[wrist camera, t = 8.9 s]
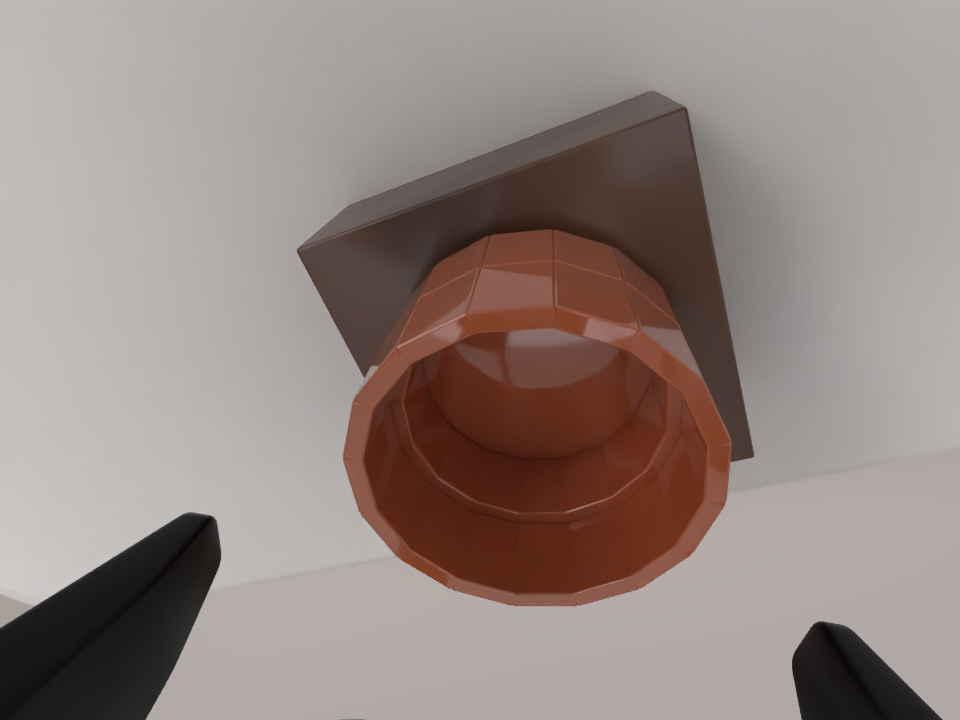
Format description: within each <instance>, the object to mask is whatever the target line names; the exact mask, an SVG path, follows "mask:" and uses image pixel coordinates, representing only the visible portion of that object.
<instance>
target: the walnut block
mask: <svg viewBox="0 0 960 720" xmlns="http://www.w3.org/2000/svg"><path fill="white" fill-rule="evenodd" d="M545 229H552V230H553V231H554V230H559V231H562V232H566V233H569V234H572V235H576V236H579V237H583V238H586V239H589V240H593V241H596V242H600V243H603V244H606V245H610V246H612V247H613V248H617V249H618V250H619V251H621V252H622V253H623V254H624V255H625V256H627V257H628V258H629V259H630V260H631V261H633V262H634V263H635V264H636V265H637V266H639V267H640V268H641V269H642V270H643V271H645V272H646V273H647V274H648V275H649V276H651V277H652V278H653V279H654V280H655V281H657V282H658V283H659V284H660V286H661V287H662V289H663V291H664V293H665V295H666V297H667V299H668V302H669V304H670V306H671V308H672V310H673V313H674V315H675V317H676V319H677V321H678V323H679V326H680V328H681V330H682V332H683V334H684V337H685V339H686V341H687V343H688V345H689V348H690V350H691V352H692V354H693V356H694V359H695V361H696V363H697V365H698V367H699V370H700V372H701V374H702V376H703V379H704V381H705V383H706V385H707V387H708V390H709V392H710V394H711V396H712V398H713V401H714V403H715V405H716V407H717V409H718V412H719V414H720V416H721V418H722V420H723V423H724V425H725V427H726V429H727V431H728V434H729V436H730V438H731V443H732V447H731V458H730V462H733V461H738V460H743V459H748V458H752V457H754V452H753V447H752V441H751V436H750V431H749V426H748V421H747V415H746V410H745V405H744V400H743V395H742V390H741V384H740V379H739V374H738V369H737V364H736V358H735V353H734V348H733V343H732V338H731V333H730V327H729V322H728V317H727V312H726V307H725V301H724V296H723V291H722V286H721V281H720V276H719V270H718V265H717V260H716V255H715V250H714V244H713V239H712V234H711V229H710V224H709V219H708V213H707V208H706V203H705V198H704V193H703V187H702V182H701V177H700V172H699V167H698V162H697V156H696V151H695V146H694V141H693V136H692V130H691V125H690V120H689V115H688V110H687V108H686V107H685V106H683V105H681V104H679V103H677V102H675V101H673V100H671V99H669V98H667V97H665V96H663V95H661V94H659V93H657V92H655V91H650V92H647V93H645V94H642V95H639V96H637V97H634V98H631V99H629V100H626V101H624V102H621V103H618V104H616V105H613V106H610V107H608V108H605V109H602V110H600V111H597V112H595V113H592V114H589V115H587V116H584V117H581V118H579V119H576V120H573V121H571V122H568V123H565V124H563V125H560V126H558V127H555V128H552V129H550V130H547V131H544V132H542V133H539V134H536V135H534V136H531V137H529V138H526V139H523V140H521V141H518V142H515V143H513V144H510V145H507V146H505V147H502V148H500V149H497V150H494V151H492V152H489V153H486V154H484V155H481V156H478V157H476V158H473V159H471V160H468V161H465V162H463V163H460V164H457V165H455V166H452V167H449V168H447V169H444V170H442V171H439V172H436V173H434V174H431V175H428V176H426V177H423V178H420V179H418V180H415V181H413V182H410V183H407V184H405V185H402V186H399V187H397V188H394V189H391V190H389V191H386V192H384V193H381V194H378V195H376V196H373V197H370V198H368V199H365V200H362V201H360V202H357V203H355V204H352V205H349V206H347V207H346V208H345V209H344V210H343V211H341V212H340V213H339V214H338V215H337V216H336V217H334V218H333V219H332V220H331V221H330V222H328V223H327V224H326V225H325V226H324V227H322V228H321V229H320V230H319V231H318V232H317V233H315V234H314V235H313V236H312V237H311V238H309V239H308V240H307V241H306V242H305V243H304V244H302V245H301V246H300V247H299V248H298V249H297V253H298V255H299V257H300V259H301V260H302V262H303V264H304V266H305V268H306V270H307V272H308V274H309V275H310V277H311V279H312V281H313V283H314V285H315V287H316V288H317V290H318V292H319V294H320V296H321V298H322V300H323V302H324V303H325V305H326V307H327V309H328V311H329V313H330V315H331V316H332V318H333V320H334V322H335V324H336V326H337V328H338V330H339V331H340V333H341V335H342V337H343V339H344V341H345V343H346V345H347V346H348V348H349V350H350V352H351V354H352V356H353V358H354V359H355V361H356V363H357V365H358V367H359V369H360V371H361V373H362V374H363V376H364V378H365V377H366V375H367V373H368V371H369V369H370V367H371V366H372V364H373V362H374V360H375V358H376V356H377V354H378V353H379V351H380V349H381V347H382V345H383V344H384V342H385V340H386V338H387V336H388V335H389V333H390V331H391V329H392V327H393V325H394V323H395V322H396V320H397V318H398V316H399V314H400V312H401V310H402V308H403V307H404V305H405V303H406V302H407V301H408V299H409V298H410V297H411V296H412V294H413V293H414V292H415V290H416V289H417V288H418V287H419V285H420V284H421V283H422V281H423V280H424V279H425V278H426V276H427V275H428V274H429V272H430V271H431V270H432V268H433V267H434V266H436V265H437V264H438V262H440V261H442V260H444V259H446V258H447V257H449V256H451V255H453V254H455V253H457V252H459V251H461V250H462V249H464V248H466V247H468V246H470V245H472V244H474V243H475V242H477V241H479V240H481V239H483V238H485V237H487V236H489V237H490V236H491V235H495V234H505V233H515V232H525V231H535V230H545Z"/></svg>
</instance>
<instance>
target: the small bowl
mask: <svg viewBox="0 0 960 720" xmlns="http://www.w3.org/2000/svg"><path fill="white" fill-rule="evenodd" d="M731 447H732V443H731V438H730V436H729V434H728V431H727V429H726V427H725V425H724V423H723V420H722V418H721V416H720V414H719V412H718V409H717V407H716V405H715V403H714V401H713V398H712V396H711V394H710V392H709V390H708V387H707V385H706V383H705V381H704V379H703V376H702V374H701V372H700V370H699V367H698V365H697V363H696V361H695V359H694V356H693V354H692V352H691V350H690V348H689V345H688V343H687V341H686V339H685V337H684V334H683V332H682V330H681V328H680V326H679V323H678V321H677V319H676V317H675V315H674V313H673V310H672V308H671V306H670V304H669V302H668V299H667V297H666V295H665V293H664V291H663V289H662V287H661V286H660V284H659V283H658V282H657V281H655V280H654V279H653V278H652V277H651V276H649V275H648V274H647V273H646V272H645V271H643V270H642V269H641V268H640V267H639V266H637V265H636V264H635V263H634V262H633V261H631V260H630V259H629V258H628V257H627V256H625V255H624V254H623V253H622V252H621V251H619V250H618V249H617V248H613V247H612V246H610V245H606V244H603V243H600V242H596V241H593V240H589V239H586V238H583V237H579V236H576V235H572V234H569V233H566V232H562V231H559V230H554V231H553V230H552V229H545V230H535V231H525V232H515V233H505V234H495V235H491V236H490V237H489V236H487V237H485V238H483V239H481V240H479V241H477V242H475V243H474V244H472V245H470V246H468V247H466V248H464V249H462V250H461V251H459V252H457V253H455V254H453V255H451V256H449V257H447V258H446V259H444V260H442V261H440V262H438V264H437V265H436V266H434V267H433V268H432V270H431V271H430V272H429V274H428V275H427V276H426V278H425V279H424V280H423V281H422V283H421V284H420V285H419V287H418V288H417V289H416V290H415V292H414V293H413V294H412V296H411V297H410V298H409V299H408V301H407V302H406V303H405V305H404V307H403V308H402V310H401V312H400V314H399V316H398V318H397V320H396V322H395V323H394V325H393V327H392V329H391V331H390V333H389V335H388V336H387V338H386V340H385V342H384V344H383V345H382V347H381V349H380V351H379V353H378V354H377V356H376V358H375V360H374V362H373V364H372V366H371V367H370V369H369V371H368V373H367V375H366V377H365V379H364V380H363V382H362V384H361V386H360V388H359V390H358V392H357V393H356V395H355V397H354V400H353V402H352V408H351V413H350V419H349V424H348V430H347V435H346V441H345V446H344V452H343V461H344V465H345V468H346V471H347V474H348V477H349V481H350V484H351V487H352V490H353V493H354V497H355V500H356V503H357V506H358V509H359V512H361V515H362V516H363V518H364V519H365V520H366V521H367V522H368V523H369V525H370V526H371V527H372V528H373V529H374V530H375V532H376V533H377V534H378V535H379V536H380V537H381V539H382V540H383V541H384V542H385V543H386V544H387V546H388V547H389V548H390V549H391V550H392V551H393V553H394V554H395V555H396V556H397V557H399V559H401V560H402V561H404V562H406V563H407V564H409V565H411V566H412V567H414V568H416V569H417V570H419V571H421V572H422V573H425V574H426V575H427V576H429V577H431V578H433V579H434V580H436V581H438V582H439V583H441V584H443V585H444V586H446V587H448V588H450V589H451V588H452V590H455V591H458V592H462V593H466V594H470V595H474V596H477V597H481V598H485V599H488V600H492V601H496V602H500V603H503V604H507V605H514V606H577V605H579V606H580V605H583V604H587V603H591V602H594V601H598V600H602V599H605V598H609V597H613V596H616V595H620V594H624V593H627V592H631V591H634V590H638V589H639V588H642V587H644V586H645V585H647V584H648V583H650V582H651V581H653V580H654V579H656V578H657V577H659V576H660V575H662V574H663V573H665V572H666V571H668V570H669V569H671V568H672V567H674V566H675V565H677V564H678V563H680V562H681V561H683V560H684V559H686V558H688V557H689V556H690V555H691V553H693V552H694V551H695V549H696V548H697V546H698V545H699V543H700V542H701V540H702V539H703V537H704V536H705V534H706V533H707V531H708V530H709V528H710V527H711V525H712V524H713V522H714V521H715V519H716V518H717V516H718V515H719V513H720V512H721V510H722V509H723V507H724V505H725V503H726V499H727V489H728V478H729V468H730V458H731Z"/></svg>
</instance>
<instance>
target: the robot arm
mask: <svg viewBox="0 0 960 720" xmlns="http://www.w3.org/2000/svg"><path fill="white" fill-rule="evenodd" d="M220 561H221V547H220V540H219V533H218V526H217V521H216V519H215V518H214V517H213V516H210V515H205V514H199V513H193V512H189V513H185V514H183V515H181V516H179V517H178V518H176V519H174V520H173V521H171V522H170V523H168V524H166V525H165V526H163V527H162V528H160V529H158V530H157V531H155V532H154V533H152V534H150V535H149V536H147V537H145V538H144V539H142V540H141V541H139V542H137V543H136V544H134V545H133V546H131V547H129V548H128V549H126V550H125V551H123V552H121V553H120V554H118V555H117V556H115V557H113V558H112V559H110V560H109V561H107V562H105V563H104V564H102V565H101V566H99V567H97V568H96V569H94V570H93V571H91V572H89V573H88V574H86V575H85V576H83V577H81V578H80V579H78V580H76V581H75V582H73V583H72V584H70V585H68V586H67V587H65V588H64V589H62V590H60V591H59V592H57V593H56V594H54V595H52V596H51V597H49V598H48V599H46V600H44V601H43V602H41V603H40V604H38V605H36V606H35V607H33V608H32V609H30V610H28V611H27V612H25V613H24V614H22V615H20V616H19V617H17V618H16V619H14V620H13V621H11V622H9V623H8V624H6V625H4V626H3V627H1V628H0V720H145V719H146V718H147V716H148V714H149V712H150V711H151V709H152V707H153V705H154V704H155V702H156V700H157V698H158V696H159V695H160V693H161V691H162V689H163V688H164V686H165V684H166V682H167V680H168V679H169V677H170V675H171V673H172V671H173V669H174V667H175V665H176V663H177V661H178V659H179V656H180V654H181V652H182V650H183V647H184V645H185V643H186V641H187V639H188V636H189V634H190V632H191V630H192V627H193V625H194V623H195V621H196V618H197V616H198V614H199V611H200V609H201V607H202V604H203V602H204V600H205V598H206V596H207V593H208V591H209V589H210V586H211V584H212V582H213V580H214V577H215V575H216V573H217V571H218V568H219V565H220ZM792 671H793V676H794V682H795V687H796V692H797V697H798V703H799V707H800V713H801V718H802V720H942V719H941V718H940V717H939V716H938V715H937V714H936V713H935V712H934V711H933V710H932V709H931V708H930V707H929V706H928V705H927V704H926V703H925V702H924V701H923V700H922V699H921V698H920V697H919V696H918V695H917V694H916V693H915V692H914V691H913V690H912V689H911V688H910V687H909V686H908V685H907V684H906V683H905V682H904V681H903V680H902V679H901V678H900V677H899V676H898V675H897V674H896V673H895V672H894V671H893V670H892V669H891V668H890V667H889V666H888V665H887V664H886V663H885V662H884V661H883V660H882V659H881V658H880V657H879V656H878V655H877V654H876V653H875V652H874V651H873V650H872V649H871V648H870V647H869V646H868V645H867V644H866V643H865V642H863V640H862V639H861V638H860V637H859V636H857V634H856V633H855V632H853V631H852V630H851V629H849V628H848V627H846V626H844V625H839V624H834V623H828V622H817V623H815V624H813V626H812V627H811V628H810V630H809V631H808V633H807V634H806V636H805V637H804V639H803V640H802V642H801V643H800V645H799V646H798V648H797V649H796V651H795V653H794V655H793V659H792Z"/></svg>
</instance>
